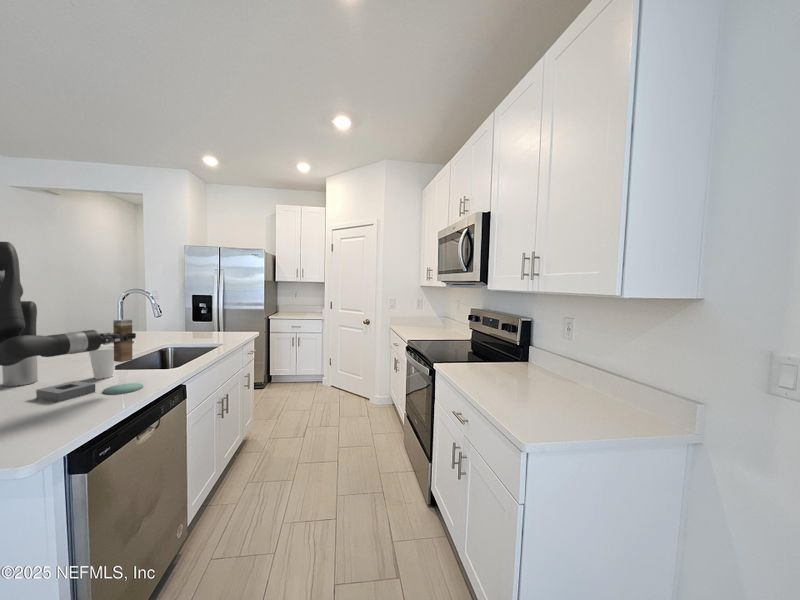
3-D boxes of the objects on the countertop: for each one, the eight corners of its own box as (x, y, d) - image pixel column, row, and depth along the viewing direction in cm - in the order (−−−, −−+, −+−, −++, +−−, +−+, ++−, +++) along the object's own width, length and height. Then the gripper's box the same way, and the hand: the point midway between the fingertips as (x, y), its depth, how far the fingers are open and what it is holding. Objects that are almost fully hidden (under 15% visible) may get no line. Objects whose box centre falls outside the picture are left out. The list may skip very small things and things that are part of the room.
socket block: (36, 398, 117) (36, 389, 117) (74, 388, 128) (74, 380, 127) (58, 401, 114) (58, 393, 114) (95, 391, 125) (95, 383, 125)
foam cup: (106, 373, 148) (105, 345, 148) (123, 374, 147) (123, 346, 146) (83, 379, 139) (82, 349, 138) (101, 380, 138) (101, 350, 137)
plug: (113, 361, 126) (113, 320, 126) (124, 359, 130) (124, 319, 129) (121, 362, 125) (121, 320, 125) (132, 359, 129) (132, 319, 128)
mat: (103, 388, 129) (103, 386, 129) (142, 382, 137) (142, 381, 137) (103, 396, 120) (103, 395, 120) (144, 390, 128) (144, 388, 128)
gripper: (94, 332, 112) (144, 326, 128) (64, 330, 115) (117, 324, 132) (94, 354, 112) (144, 345, 128) (64, 351, 115) (117, 343, 132)
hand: (130, 335), depth 130 cm, fingers closed on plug, 4 cm apart
